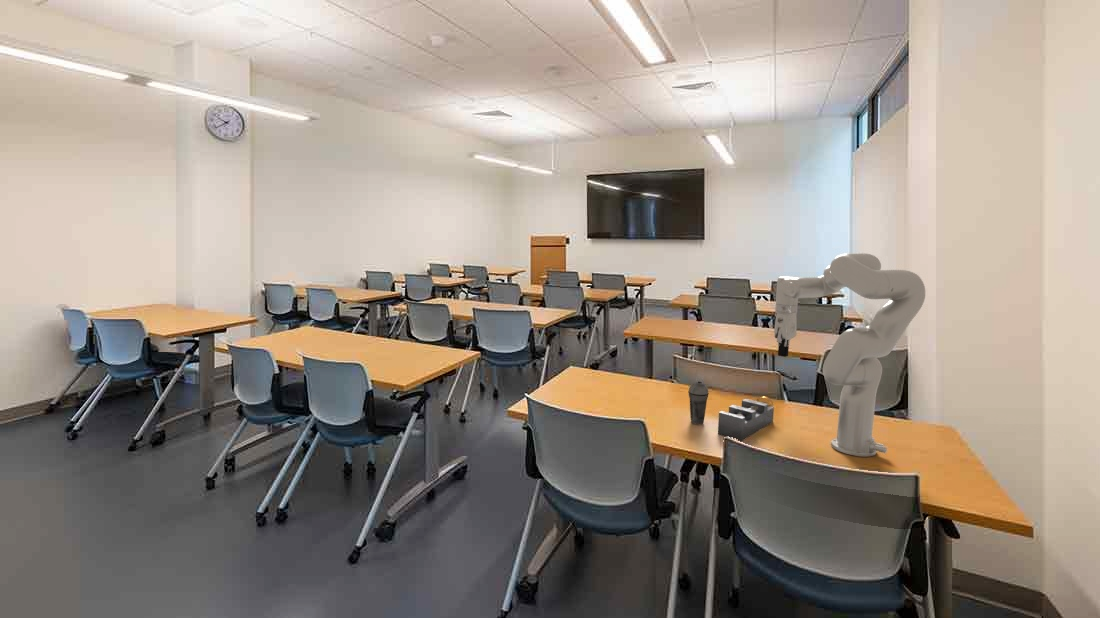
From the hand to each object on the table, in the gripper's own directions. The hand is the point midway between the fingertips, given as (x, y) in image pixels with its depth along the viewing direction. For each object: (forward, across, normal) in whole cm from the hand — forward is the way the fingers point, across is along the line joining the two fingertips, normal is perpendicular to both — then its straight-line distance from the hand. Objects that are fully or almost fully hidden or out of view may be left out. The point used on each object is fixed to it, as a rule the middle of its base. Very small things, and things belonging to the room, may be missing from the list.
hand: (782, 355), depth 189 cm
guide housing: (+23, -24, +2) cm, 33 cm away
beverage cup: (+23, -32, +17) cm, 43 cm away
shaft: (+21, -21, +2) cm, 30 cm away
